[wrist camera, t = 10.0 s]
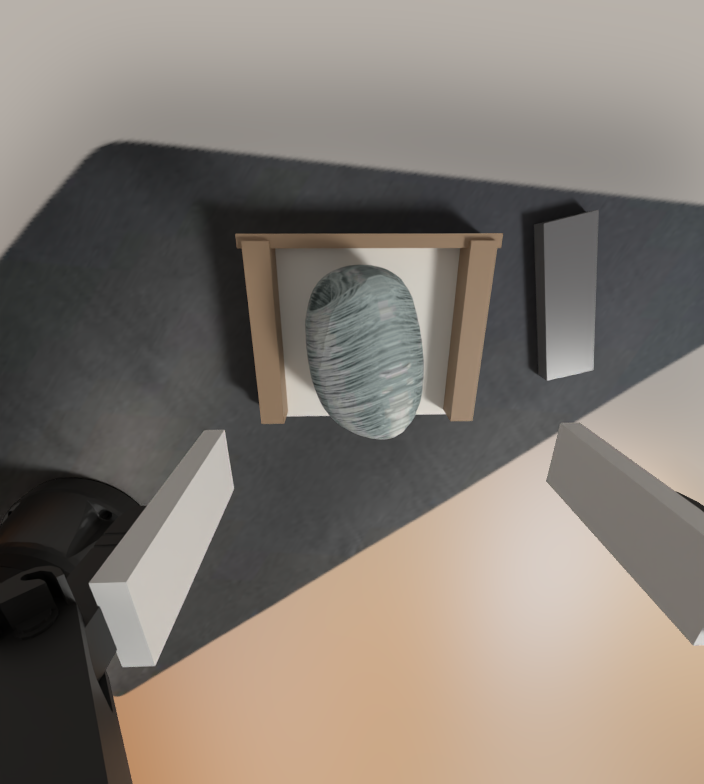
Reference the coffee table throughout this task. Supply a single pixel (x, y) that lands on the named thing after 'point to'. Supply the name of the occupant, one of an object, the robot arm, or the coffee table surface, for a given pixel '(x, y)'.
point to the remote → (566, 293)
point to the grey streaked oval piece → (365, 350)
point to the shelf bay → (420, 275)
